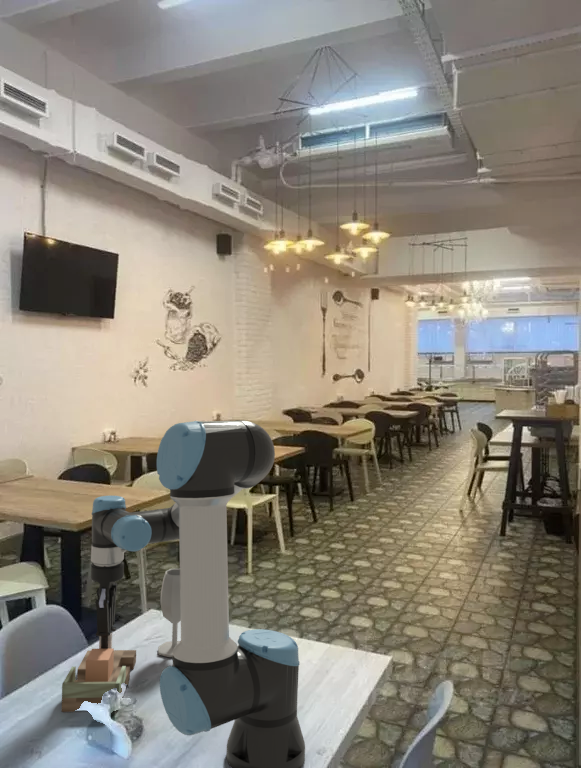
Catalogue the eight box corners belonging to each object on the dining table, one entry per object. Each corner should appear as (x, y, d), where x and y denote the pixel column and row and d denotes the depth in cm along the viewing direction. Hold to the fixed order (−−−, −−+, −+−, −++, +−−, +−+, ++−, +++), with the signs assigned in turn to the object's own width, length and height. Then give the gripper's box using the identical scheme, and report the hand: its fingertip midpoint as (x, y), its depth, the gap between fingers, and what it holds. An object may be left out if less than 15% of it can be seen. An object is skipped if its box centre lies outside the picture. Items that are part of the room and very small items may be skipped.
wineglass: (194, 645, 168) (196, 567, 167) (186, 659, 159) (188, 578, 159) (163, 642, 169) (165, 565, 168) (153, 657, 160) (155, 576, 160)
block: (107, 682, 140) (108, 660, 140) (85, 682, 140) (85, 660, 140) (113, 669, 146) (113, 648, 146) (91, 669, 146) (92, 648, 146)
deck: (118, 710, 134) (119, 683, 134) (61, 711, 133) (62, 684, 133) (135, 661, 157) (136, 638, 157) (87, 662, 156) (87, 638, 156)
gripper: (118, 570, 142) (115, 673, 142) (128, 554, 155) (126, 648, 155) (84, 570, 141) (82, 673, 141) (97, 553, 154) (95, 648, 154)
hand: (105, 660), depth 148 cm, fingers closed
